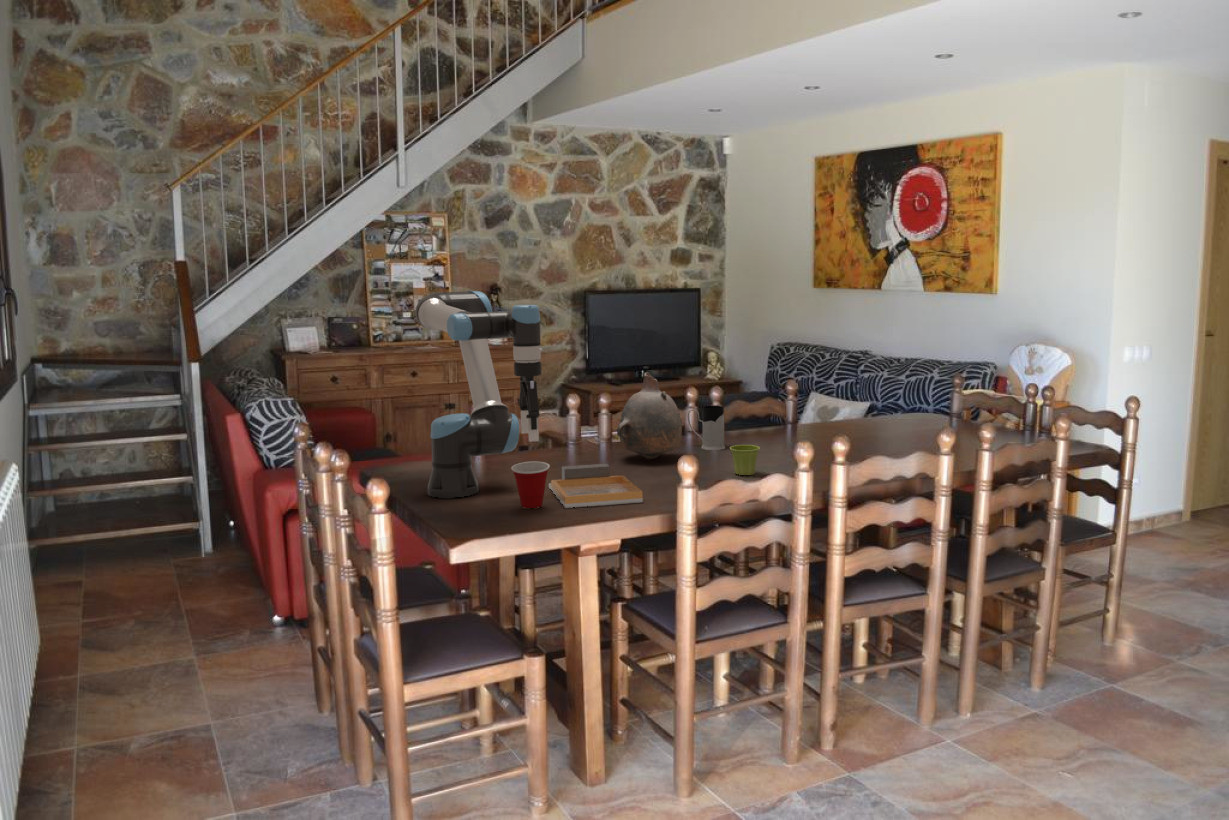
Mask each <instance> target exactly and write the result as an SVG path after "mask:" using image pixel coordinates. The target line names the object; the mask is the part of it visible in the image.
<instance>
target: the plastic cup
mask: <svg viewBox="0 0 1229 820" xmlns="http://www.w3.org/2000/svg"><path fill="white" fill-rule="evenodd" d="M549 469H550V464H549V463H547V462H544V461H525V462H520V463H516V464H513V465H512V466H511V471H512V472H513V475H514V478H515V484H516V487H517V493H518V497H519V500H520V506H521V508H522V507H525V508H537V507H541V506H542V507H543V503H544V502H543V501H544V496H545V490H546V483H547V481H546V480H547V477H548V476H547V475H548V471H549ZM542 507H541V508H542Z"/></svg>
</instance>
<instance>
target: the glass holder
mask: <svg viewBox="0 0 1229 820" xmlns="http://www.w3.org/2000/svg"><path fill="white" fill-rule="evenodd" d="M724 410H725V407H724V406H722V405H705V406H702V420H701V418H700V413H699V411H698V410H697V409H695V408H693V409H690V410H689V411H688V412H687V422H688V424H689V427H690V430H691V431H692V432H693V433H694V434H695V435H696V436H697V437H699V438H700V439H701V442H702V445H701V450H706V451H720V450H721V449H722V450H726V446H725V412H724ZM692 411H694V412H696V413H697V417H698V418H697V420H698V421H699V422H701V423H702V430H701V431H702V436H701V435H700V434H698V432H697V431H695V429H694V428H693V427H692V425H691V422H690V412H692Z"/></svg>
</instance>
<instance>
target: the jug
mask: <svg viewBox="0 0 1229 820" xmlns="http://www.w3.org/2000/svg"><path fill="white" fill-rule="evenodd" d="M642 381H643V382H642V388H641V390H640V391H639V392H636V393H633V395H631V396H630V397H629V398H628V400H627V401H626V403H625V405H624V407H623V409H622V412H621V416H620V422H619V424H618V425H617V429H616V434H617V436H618V437H619V440H620V441H619V442H620V445H621V447H622V448H623V449H625V450H627V451H630V452H632V453H635V454H638V455H641V456H642V457H643V458H645V459H647V460H653V459H656V458H658V457H659V456H661V455H662V454H666V453H668V452H670V451H674V450H677V449H679V447H680V446H681V444H682V443H681V442H682V437H683V430H682V429H683V420H682V418H681V415H680V410H679V408H678V406H677V404H676V402H675V401H674V399H673V398H672V397H671V396H670V395H669V394H667V392H666V391H661V390H660V386H659V382H658V380H657V379H656V378H655V377H654V376H653V375H652V374H650V372H645V373H644V375H643V380H642Z"/></svg>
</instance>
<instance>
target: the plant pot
mask: <svg viewBox="0 0 1229 820" xmlns="http://www.w3.org/2000/svg"><path fill="white" fill-rule="evenodd" d="M729 449H730V451H731V456H732V459H733V461H732V462H733V468H734V474H735V473H736V474H737V475H738V474H739V475H738V476H740V475H749V476H753V474H754V475H755V474H756V472H755V471H756V464H757V458H758V454H759V450H760V449H761V448H760V446H758V445H753V444H737V445H732V446H730V447H729ZM736 474H735V475H736Z"/></svg>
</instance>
